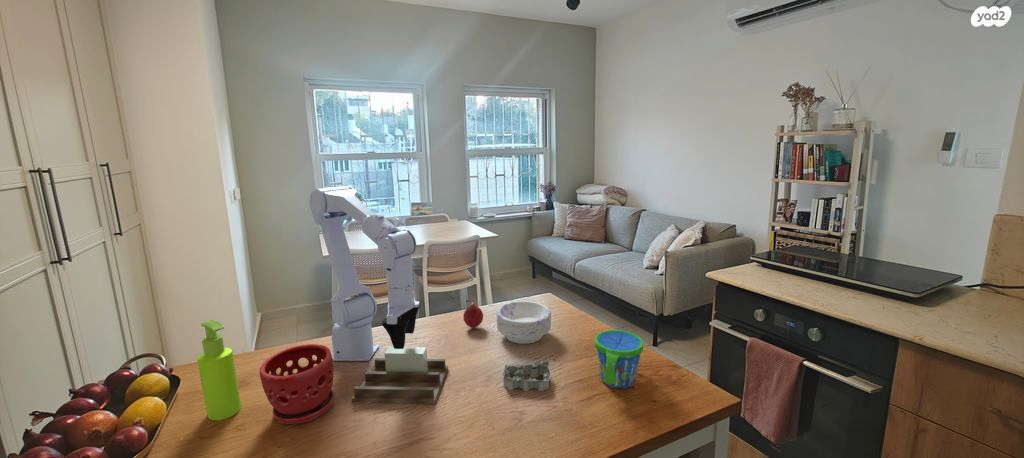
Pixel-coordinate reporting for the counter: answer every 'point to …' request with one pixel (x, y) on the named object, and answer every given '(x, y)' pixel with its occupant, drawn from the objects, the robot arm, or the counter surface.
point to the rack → (401, 384)
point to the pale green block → (406, 359)
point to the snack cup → (618, 357)
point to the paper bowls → (523, 321)
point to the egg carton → (525, 369)
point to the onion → (473, 316)
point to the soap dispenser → (218, 374)
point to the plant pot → (299, 383)
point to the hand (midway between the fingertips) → (404, 340)
